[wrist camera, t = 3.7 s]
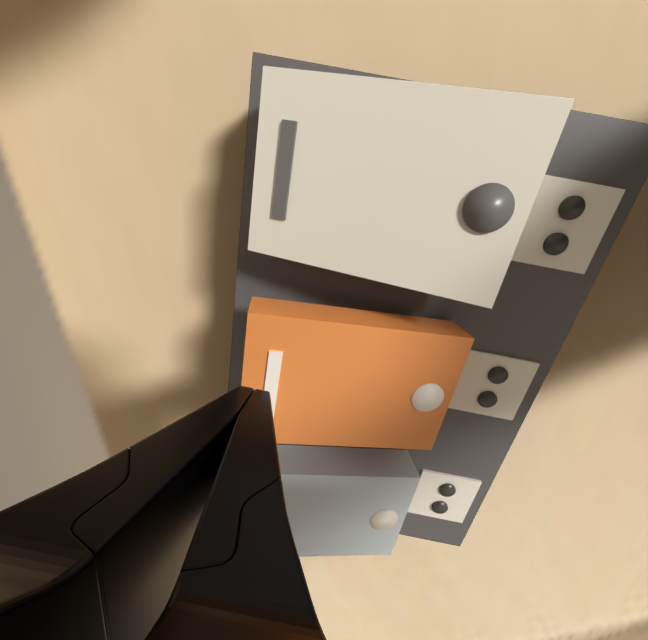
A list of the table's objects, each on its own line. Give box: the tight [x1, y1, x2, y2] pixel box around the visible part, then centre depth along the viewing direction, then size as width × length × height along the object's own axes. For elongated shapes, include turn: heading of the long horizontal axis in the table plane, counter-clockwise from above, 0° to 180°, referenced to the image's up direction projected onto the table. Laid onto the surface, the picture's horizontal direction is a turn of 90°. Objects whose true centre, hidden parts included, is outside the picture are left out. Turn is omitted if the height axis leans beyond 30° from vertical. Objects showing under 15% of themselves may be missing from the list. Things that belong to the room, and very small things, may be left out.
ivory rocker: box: [248, 66, 575, 309], centre depth 9 cm, size 7×5×2 cm, turn 80°
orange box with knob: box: [241, 296, 475, 450], centre depth 11 cm, size 7×5×2 cm, turn 80°
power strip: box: [228, 52, 648, 546], centre depth 13 cm, size 12×18×4 cm, turn 170°
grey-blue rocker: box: [277, 445, 420, 556], centre depth 13 cm, size 7×5×2 cm, turn 80°
